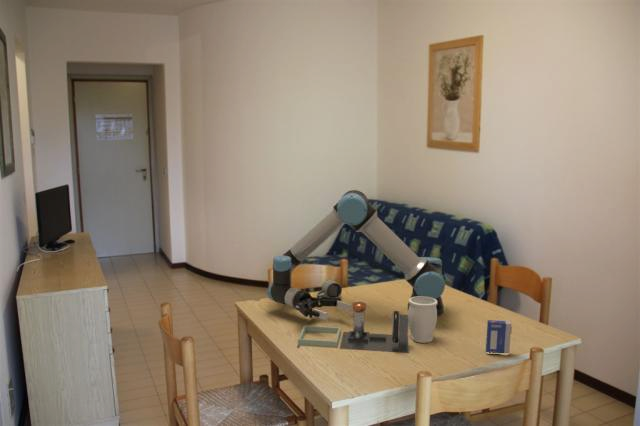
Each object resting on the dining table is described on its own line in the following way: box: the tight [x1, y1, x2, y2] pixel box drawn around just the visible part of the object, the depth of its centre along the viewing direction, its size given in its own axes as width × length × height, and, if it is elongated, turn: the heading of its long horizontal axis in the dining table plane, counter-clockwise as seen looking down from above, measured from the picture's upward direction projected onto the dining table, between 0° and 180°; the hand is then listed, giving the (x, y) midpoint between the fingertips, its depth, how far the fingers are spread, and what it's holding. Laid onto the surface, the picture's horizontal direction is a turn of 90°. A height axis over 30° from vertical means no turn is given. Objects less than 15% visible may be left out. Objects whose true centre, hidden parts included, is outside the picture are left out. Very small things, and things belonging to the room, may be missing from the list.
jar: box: [407, 296, 438, 344], centre depth 214 cm, size 11×10×15 cm
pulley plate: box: [339, 310, 410, 354], centre depth 208 cm, size 24×16×14 cm, turn 83°
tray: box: [297, 325, 342, 348], centre depth 211 cm, size 14×14×3 cm
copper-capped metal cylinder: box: [352, 301, 367, 338], centre depth 212 cm, size 5×5×13 cm
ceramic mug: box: [316, 279, 343, 298], centre depth 262 cm, size 11×8×8 cm
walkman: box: [485, 319, 513, 354], centre depth 201 cm, size 8×3×12 cm, turn 81°
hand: (339, 312), depth 218 cm, fingers open, 13 cm apart
